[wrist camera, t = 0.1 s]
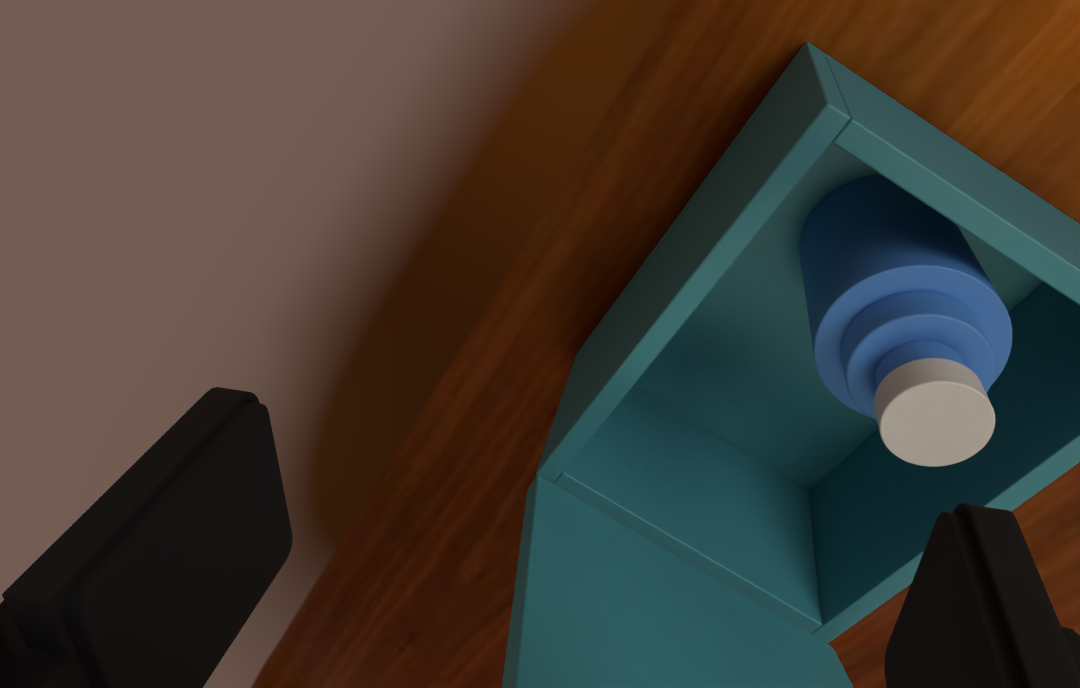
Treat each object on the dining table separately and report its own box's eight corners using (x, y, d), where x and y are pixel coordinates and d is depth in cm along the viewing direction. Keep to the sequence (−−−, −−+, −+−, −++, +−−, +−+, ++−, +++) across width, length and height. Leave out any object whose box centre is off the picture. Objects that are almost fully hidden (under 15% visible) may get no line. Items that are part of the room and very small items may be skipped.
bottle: (814, 167, 30) (850, 321, 20) (972, 181, 29) (1093, 350, 19) (787, 298, 33) (806, 488, 23) (930, 314, 32) (1015, 521, 22)
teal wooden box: (806, 40, 29) (827, 102, 21) (1102, 239, 30) (1220, 362, 22) (575, 354, 38) (534, 474, 30) (810, 497, 39) (826, 645, 31)
